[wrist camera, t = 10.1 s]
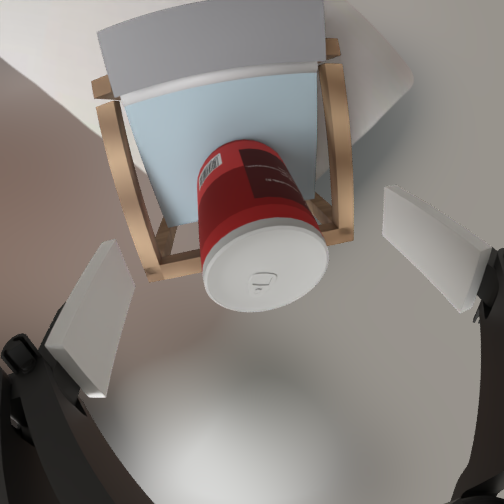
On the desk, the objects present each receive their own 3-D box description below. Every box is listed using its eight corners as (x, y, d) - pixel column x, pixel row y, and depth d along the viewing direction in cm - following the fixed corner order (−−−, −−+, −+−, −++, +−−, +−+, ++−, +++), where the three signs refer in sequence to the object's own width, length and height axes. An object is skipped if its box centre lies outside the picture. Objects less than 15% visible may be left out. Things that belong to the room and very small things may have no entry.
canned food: (201, 217, 26) (211, 320, 19) (191, 141, 20) (192, 235, 13) (280, 209, 27) (317, 303, 20) (286, 133, 21) (343, 218, 14)
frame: (137, 91, 28) (91, 81, 15) (289, 63, 29) (337, 38, 16) (168, 221, 37) (149, 282, 24) (306, 193, 38) (353, 240, 25)
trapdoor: (116, 30, 15) (92, 33, 11) (296, -1, 15) (327, -4, 11) (169, 205, 29) (167, 246, 25) (303, 179, 29) (323, 214, 26)
